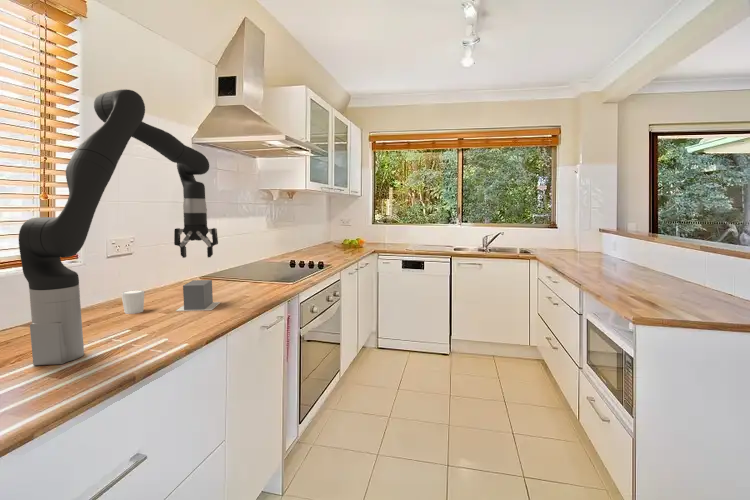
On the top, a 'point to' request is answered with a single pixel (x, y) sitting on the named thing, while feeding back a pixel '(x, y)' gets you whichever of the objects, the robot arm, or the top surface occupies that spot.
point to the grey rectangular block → (197, 294)
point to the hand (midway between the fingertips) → (197, 257)
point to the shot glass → (133, 301)
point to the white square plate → (201, 310)
